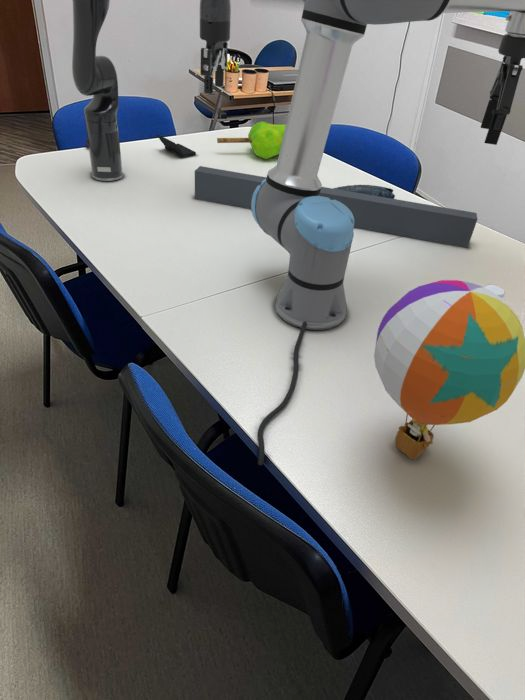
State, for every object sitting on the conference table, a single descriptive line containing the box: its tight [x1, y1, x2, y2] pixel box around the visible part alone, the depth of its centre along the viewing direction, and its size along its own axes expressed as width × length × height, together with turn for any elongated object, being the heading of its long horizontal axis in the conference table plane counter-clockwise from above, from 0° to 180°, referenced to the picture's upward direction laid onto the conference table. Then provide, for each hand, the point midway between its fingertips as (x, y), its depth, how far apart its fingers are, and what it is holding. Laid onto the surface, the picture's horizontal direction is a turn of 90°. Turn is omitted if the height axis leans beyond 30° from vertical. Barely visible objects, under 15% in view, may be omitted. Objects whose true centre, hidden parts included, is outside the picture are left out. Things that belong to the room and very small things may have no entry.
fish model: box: [332, 184, 396, 199], centre depth 161 cm, size 7×21×5 cm, turn 84°
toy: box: [373, 279, 525, 460], centre depth 74 cm, size 20×20×30 cm
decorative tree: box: [216, 121, 286, 160], centre depth 186 cm, size 18×10×30 cm
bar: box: [194, 165, 478, 248], centre depth 148 cm, size 79×4×8 cm, turn 75°
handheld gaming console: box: [156, 133, 197, 158], centre depth 183 cm, size 12×7×10 cm
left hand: (214, 89), depth 137 cm, fingers open, 8 cm apart
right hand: (488, 135), depth 127 cm, fingers open, 13 cm apart
